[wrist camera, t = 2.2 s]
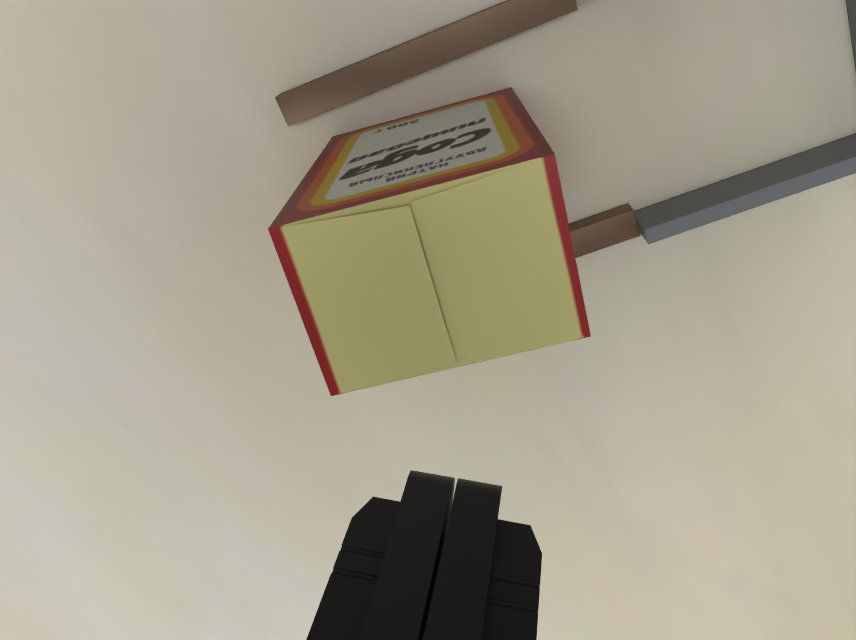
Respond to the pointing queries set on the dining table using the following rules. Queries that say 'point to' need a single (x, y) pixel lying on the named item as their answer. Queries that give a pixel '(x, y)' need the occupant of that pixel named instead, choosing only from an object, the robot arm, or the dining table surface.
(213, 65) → the dining table surface
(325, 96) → the slot rails
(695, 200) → the tray
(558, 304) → the baking soda box
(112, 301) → the dining table surface
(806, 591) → the dining table surface
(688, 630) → the dining table surface
